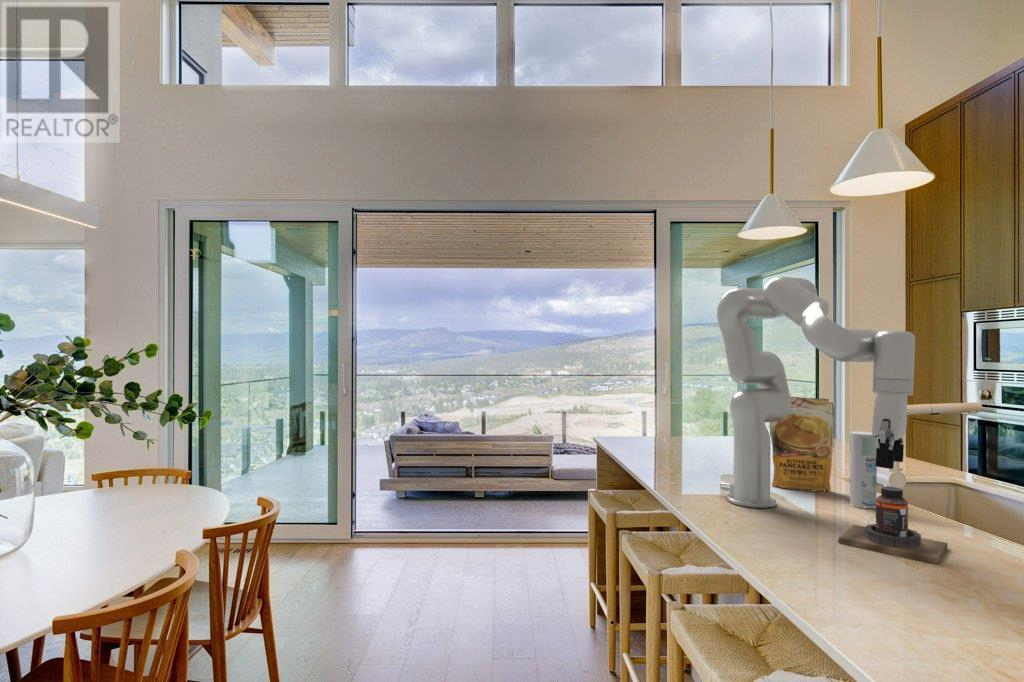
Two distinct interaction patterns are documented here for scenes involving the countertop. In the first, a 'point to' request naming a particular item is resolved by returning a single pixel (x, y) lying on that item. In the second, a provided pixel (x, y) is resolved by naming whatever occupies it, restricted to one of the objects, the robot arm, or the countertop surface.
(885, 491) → the supplement bottle
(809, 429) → the pancake mix bag
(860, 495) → the spray can
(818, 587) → the countertop surface
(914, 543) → the bottle holder
